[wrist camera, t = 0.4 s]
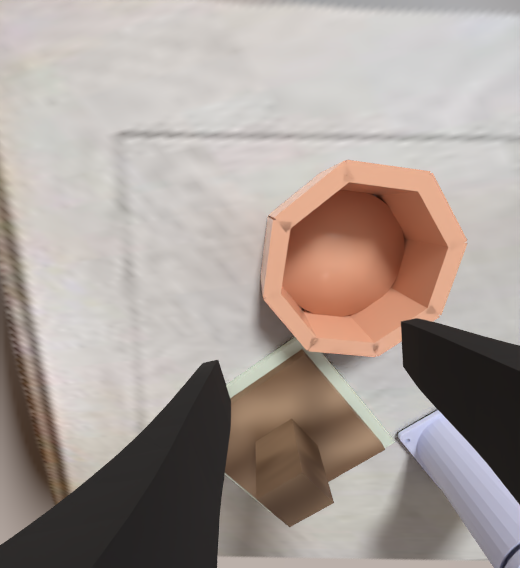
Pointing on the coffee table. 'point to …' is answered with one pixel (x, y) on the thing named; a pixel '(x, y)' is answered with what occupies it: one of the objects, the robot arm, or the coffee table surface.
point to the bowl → (360, 257)
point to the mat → (326, 369)
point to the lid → (294, 439)
